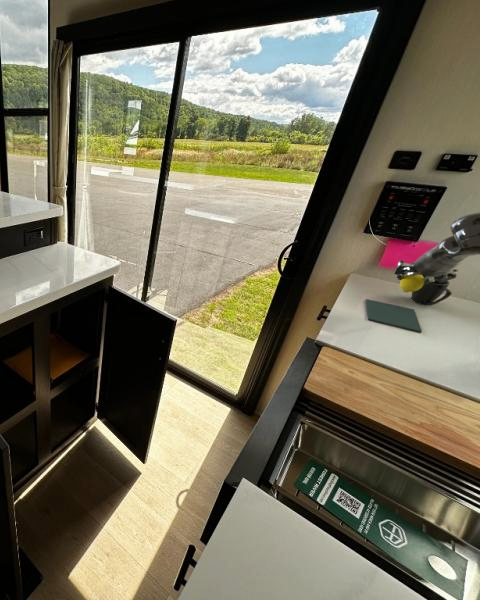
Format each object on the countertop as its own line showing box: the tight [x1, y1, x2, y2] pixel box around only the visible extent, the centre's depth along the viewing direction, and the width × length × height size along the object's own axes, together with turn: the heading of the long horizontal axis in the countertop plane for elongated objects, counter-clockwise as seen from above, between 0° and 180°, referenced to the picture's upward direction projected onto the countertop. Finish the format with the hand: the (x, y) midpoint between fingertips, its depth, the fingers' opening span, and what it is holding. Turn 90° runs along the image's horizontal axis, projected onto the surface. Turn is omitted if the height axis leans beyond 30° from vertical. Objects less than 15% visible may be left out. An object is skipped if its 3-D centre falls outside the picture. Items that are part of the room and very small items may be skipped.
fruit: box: [399, 275, 424, 293], centre depth 107 cm, size 6×6×8 cm
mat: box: [365, 298, 423, 334], centre depth 115 cm, size 14×16×1 cm
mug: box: [410, 275, 453, 306], centre depth 118 cm, size 8×12×10 cm
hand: (411, 279), depth 108 cm, fingers closed on fruit, 5 cm apart
